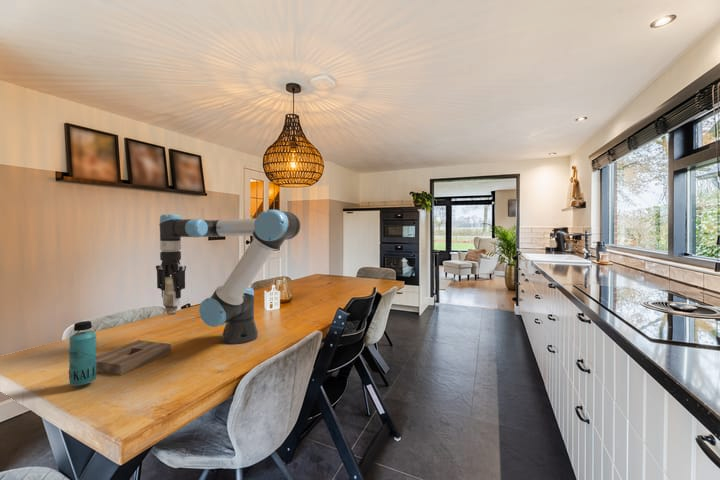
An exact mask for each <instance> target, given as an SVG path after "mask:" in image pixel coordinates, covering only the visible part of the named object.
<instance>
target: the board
mask: <svg viewBox="0 0 720 480" xmlns="http://www.w3.org/2000/svg"><path fill="white" fill-rule="evenodd" d="M171 353H172V344H171V343H167V342H166V343H165V342H158V341H157V342H156V341H148V340H136V341H133V342H130V343H127V344H125V345H122V346H119V347H115V348H114V349H111V350H109V351H105V352H102V353H100V354H98V355H97V354H96V356H97V357H96V373H102V374H103V373H104V374H109V375H115V376H123V375H125V374H127V373H129V372H133V371H134V370H136V369H138V368H141V367H143V366H144V365H147V364H149V363H151V362H154V361H156V360H158V359H161V358H162V357H165V356H167V355H169V354H171Z"/></svg>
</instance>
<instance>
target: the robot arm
mask: <svg viewBox="0 0 720 480" xmlns="http://www.w3.org/2000/svg"><path fill="white" fill-rule="evenodd" d="M158 225H159V247H160V248H159V250H160V252H159V255H160V256H159V258H160V261H161V263H160V264H159V265H155V270H156V287H157V289H159V290H160V291H161V298H162V306H163V307H165V277H169V276H172V279H173V284H174V289H175V290H173V307H175V306H177V307H179V306H180V305H181V301H180V300H181V297H182V295H181V294H182V293H181V292H182V290H184V289H185V288H186V269H187V266H186V265H183V264H181V259H182V252H181V249H182V244H181V243H182V241H181V240H182V239H181V238H209V237H211V238H217V237H219V238H220V237H249V236H252V238H253V239H252V241H251V243H250V244H249V245H248V247H247V249H246V250H245V252H244V253H243V255H242V256H241V257H240V259H239V261H237V264H236V265H235V267H234V268H233V270H232V271H231V273H230V274H229V276H228V278H227V279H226V281H224V283H223V285H220V286H217V287H216V288H215V290H214V292H213V293H212V295H211V296H210V297H208V298H207V297H206V298H205V299H204V300H202V301H201V302H200V305H199V308H198V311H199V315H200V318H201V320H202V321H203V323H205V324H206V325H207V326H209V327H215V328H216V327H218V326H222V325H224V324H225V326H224V329H223V331H222V335H221V339H222V341H223V342H224V343H226V344H244V343H248V342H252V341H254V340H256V339H257V338H258V337H259V330H258V327H257V325H256V322H255V292H254V289H253V287H250V286H251V284H252V282H253V281H254V279H255V278H256V277H257V275H258V273H259V272H260V270H261V269H262V268H263V266H264V264H265V263H266V262H267V260H268V258H269V257H270V255H271V254H272V253H273V251H278V250H279V249H280V248H281V246H282V245H283V243H284V242H285V241H286V240H292V239H294V238H295V237H296V236H298V234H299V233H300V231H301V222H300V218H299V217H298V216H297V215H296V214H295V213H293V212H291V211H285V210H284V211H283V210H279V209H266V210H264V211H262V212H260V213H259V214H258V215H257V217H256V218H238V219H233V218H232V219H209V220H207V219H199V218H188V219H187V218H186V219H182V218H181V216H180V215H179V214H167V213H166V214H161V215H160V217H159V224H158Z"/></svg>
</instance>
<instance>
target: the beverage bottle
mask: <svg viewBox="0 0 720 480" xmlns="http://www.w3.org/2000/svg"><path fill="white" fill-rule="evenodd" d="M73 327H74V328H73V331H74V332H76V333H74V334H72V335H71V336H70V337H69V339H68V341H69V349H68V358H69V359H68V361H69V362H68V363H69V365H68V366H69V367H68V368H69V370H68V383H69V384H70V386H73V387H74V386H75V387H77V386H83V385H86V384H89V383H90V384H91V383H93V382H94V381H95V380H96V379H97V375H98V373H97V372H96V357H97V333H95V332H93V331H91V330H90V329H92V327H93V325H92V321H91V320H83V321H79V322H75V323H74V326H73Z"/></svg>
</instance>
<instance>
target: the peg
mask: <svg viewBox="0 0 720 480" xmlns="http://www.w3.org/2000/svg"><path fill="white" fill-rule="evenodd" d="M173 290H175V289H174V284H173V279H172V276H171V275H170V276H169V277H165V306H164V308H165V309H164V310H165V312H166V315H167V316H173V315H176V314H177V310H178V306H175V307H173Z"/></svg>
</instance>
